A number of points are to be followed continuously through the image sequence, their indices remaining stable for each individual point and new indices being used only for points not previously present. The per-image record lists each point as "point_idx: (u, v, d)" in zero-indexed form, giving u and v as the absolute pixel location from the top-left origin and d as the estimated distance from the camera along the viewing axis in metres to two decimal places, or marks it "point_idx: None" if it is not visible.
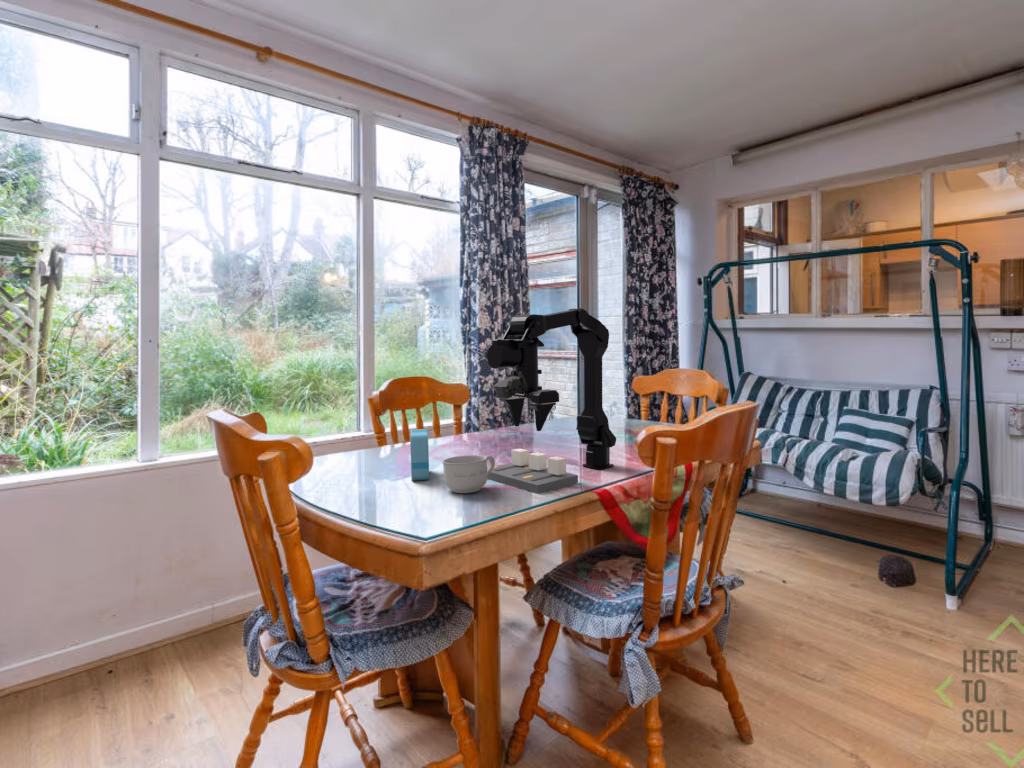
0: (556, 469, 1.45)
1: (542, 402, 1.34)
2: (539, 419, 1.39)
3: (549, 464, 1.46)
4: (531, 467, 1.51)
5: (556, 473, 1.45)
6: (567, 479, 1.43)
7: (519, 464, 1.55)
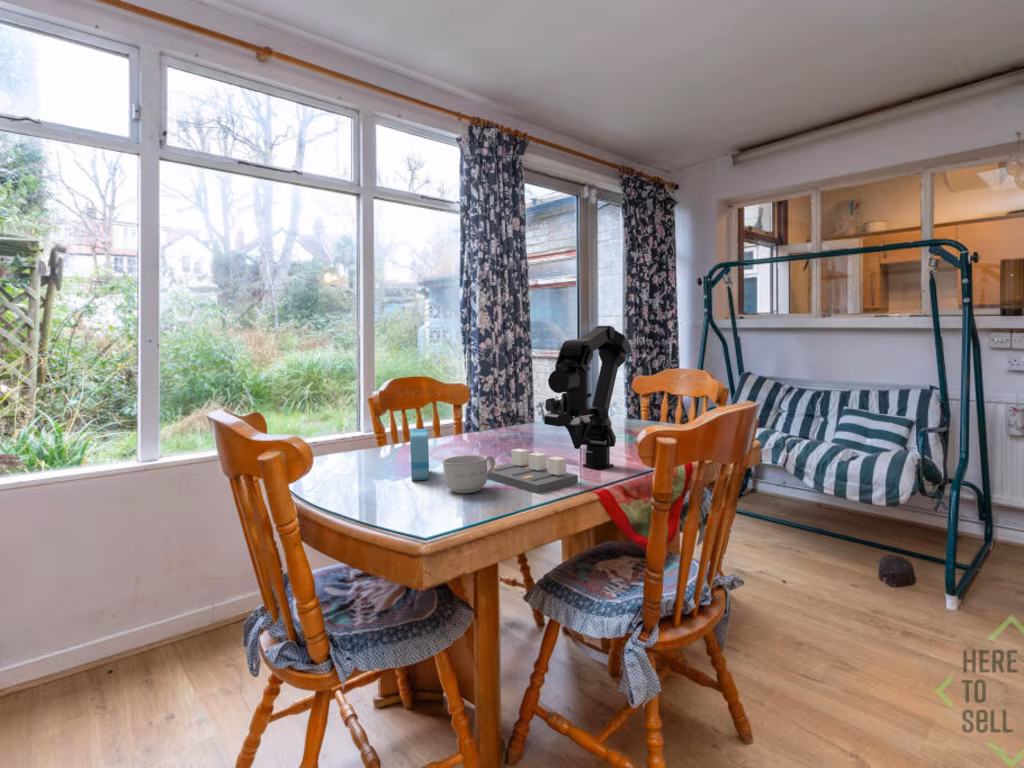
0: (556, 469, 1.45)
1: (544, 423, 1.46)
2: (572, 437, 1.50)
3: (549, 464, 1.46)
4: (531, 467, 1.51)
5: (556, 473, 1.45)
6: (567, 479, 1.43)
7: (519, 464, 1.55)
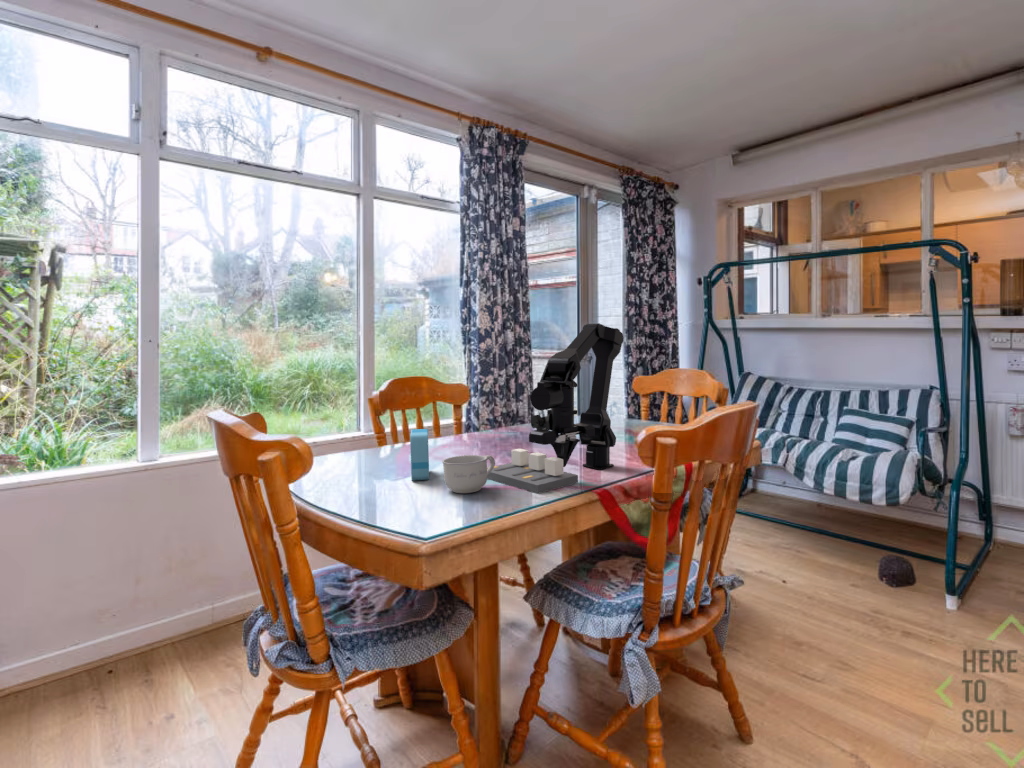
0: (553, 469, 1.44)
1: (529, 440, 1.43)
2: (557, 455, 1.47)
3: (546, 465, 1.46)
4: (531, 467, 1.51)
5: (553, 474, 1.44)
6: (567, 479, 1.43)
7: (519, 464, 1.55)
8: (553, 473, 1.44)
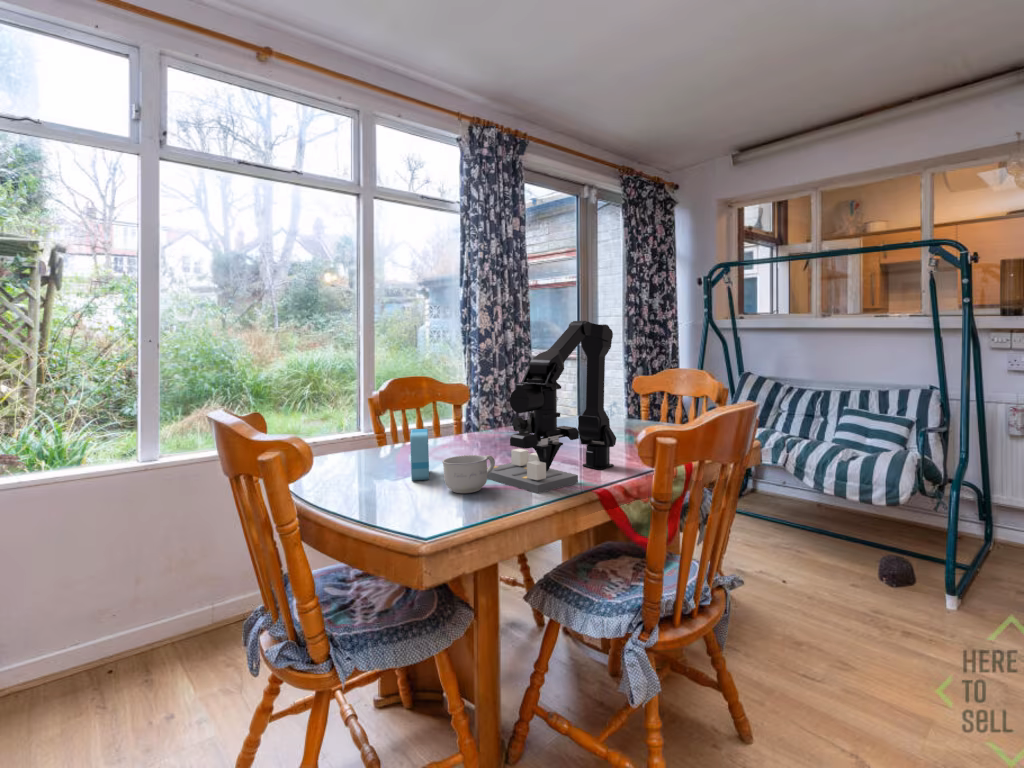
0: (535, 473, 1.40)
1: (510, 444, 1.39)
2: (540, 459, 1.43)
3: (528, 469, 1.42)
4: None
5: (535, 478, 1.40)
6: (567, 479, 1.43)
7: (519, 464, 1.55)
8: (535, 477, 1.40)
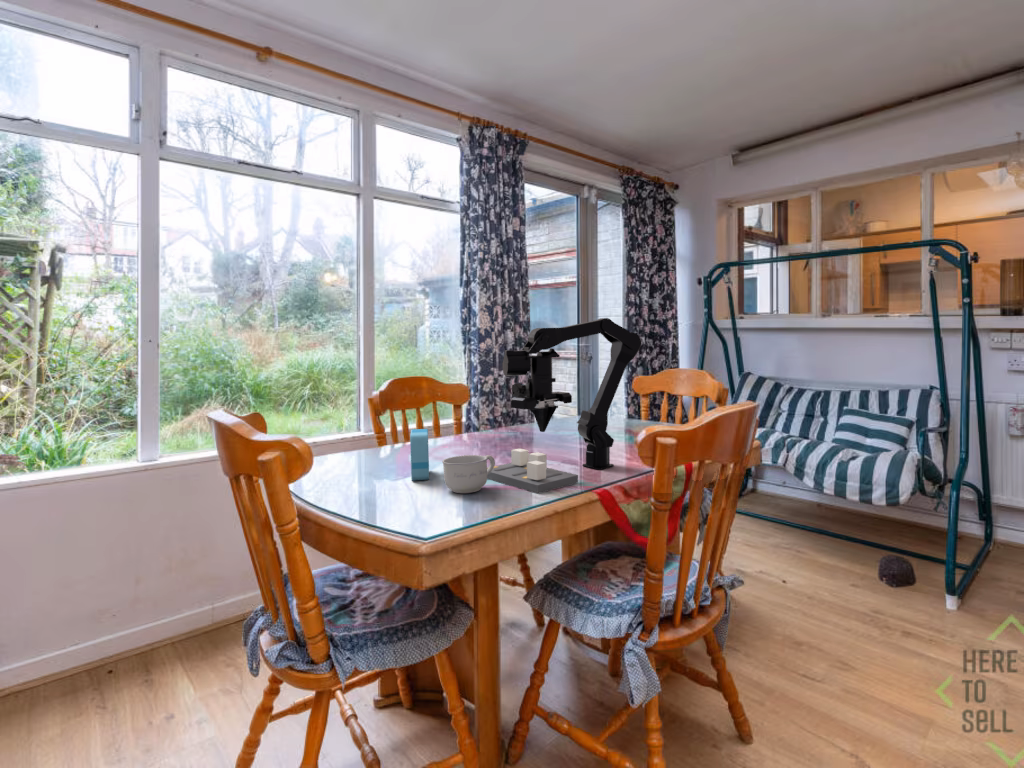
0: (535, 473, 1.40)
1: (511, 406, 1.52)
2: (537, 421, 1.57)
3: (528, 469, 1.42)
4: None
5: (535, 478, 1.40)
6: (567, 479, 1.43)
7: (519, 464, 1.55)
8: (535, 477, 1.40)
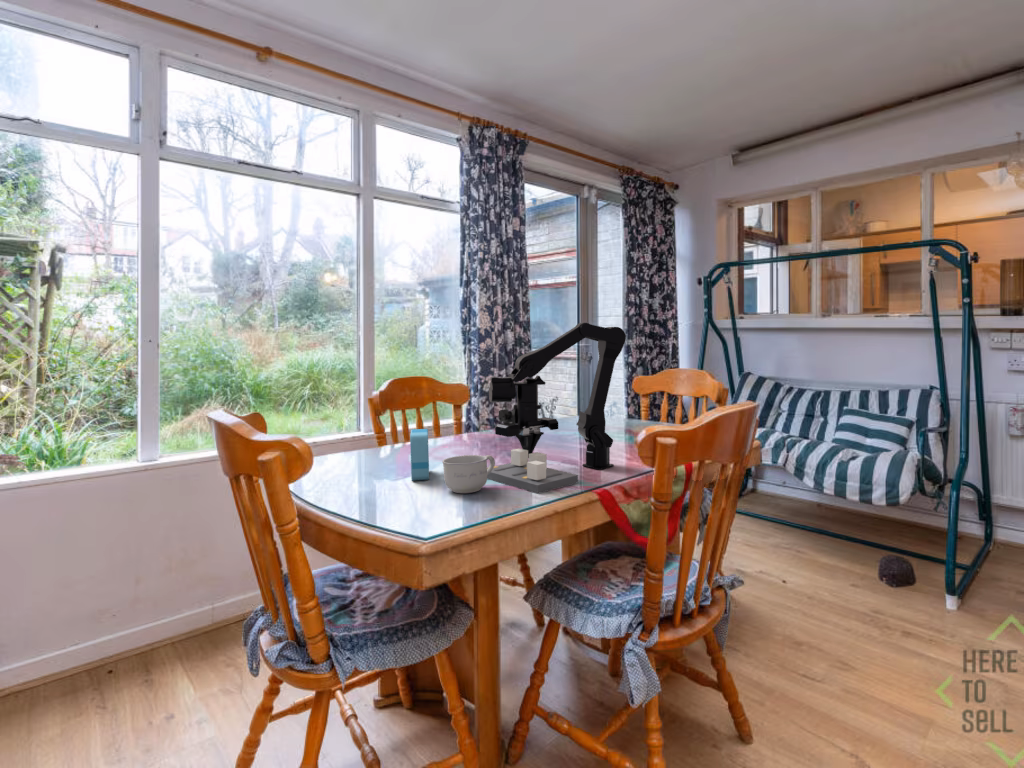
0: (535, 473, 1.40)
1: (495, 433, 1.54)
2: (523, 447, 1.58)
3: (528, 469, 1.42)
4: None
5: (535, 478, 1.40)
6: (567, 479, 1.43)
7: (519, 464, 1.55)
8: (535, 477, 1.40)
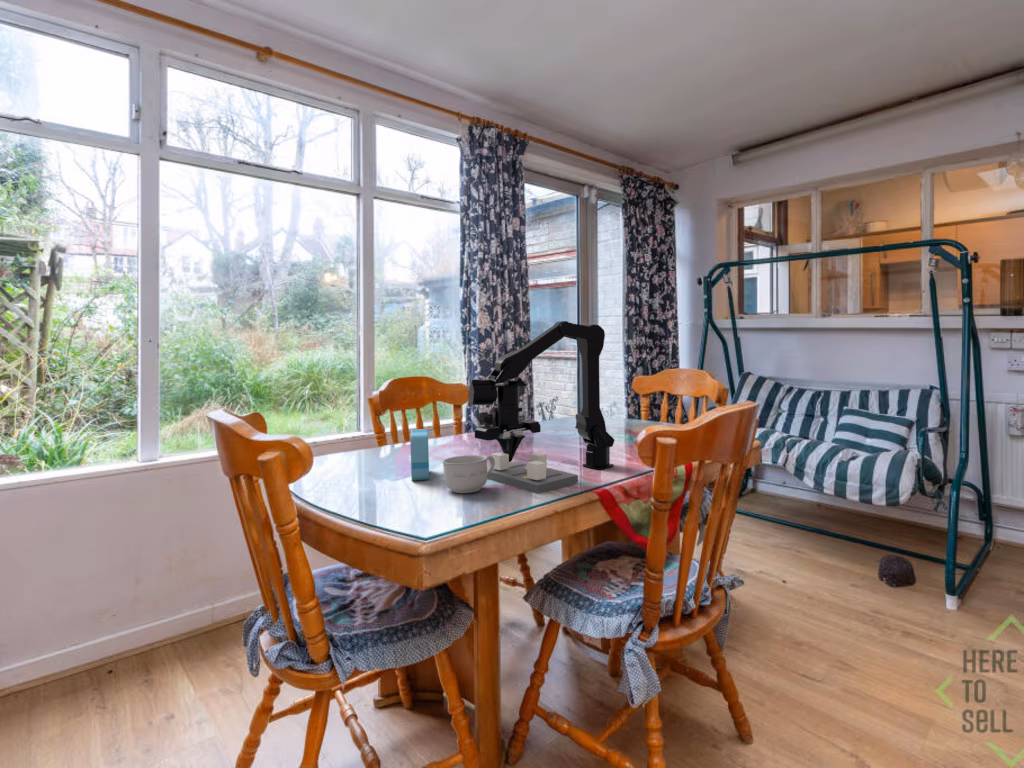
0: (535, 473, 1.40)
1: (475, 436, 1.50)
2: (503, 451, 1.54)
3: (528, 469, 1.42)
4: None
5: (535, 478, 1.40)
6: (567, 479, 1.43)
7: (499, 468, 1.50)
8: (535, 477, 1.40)
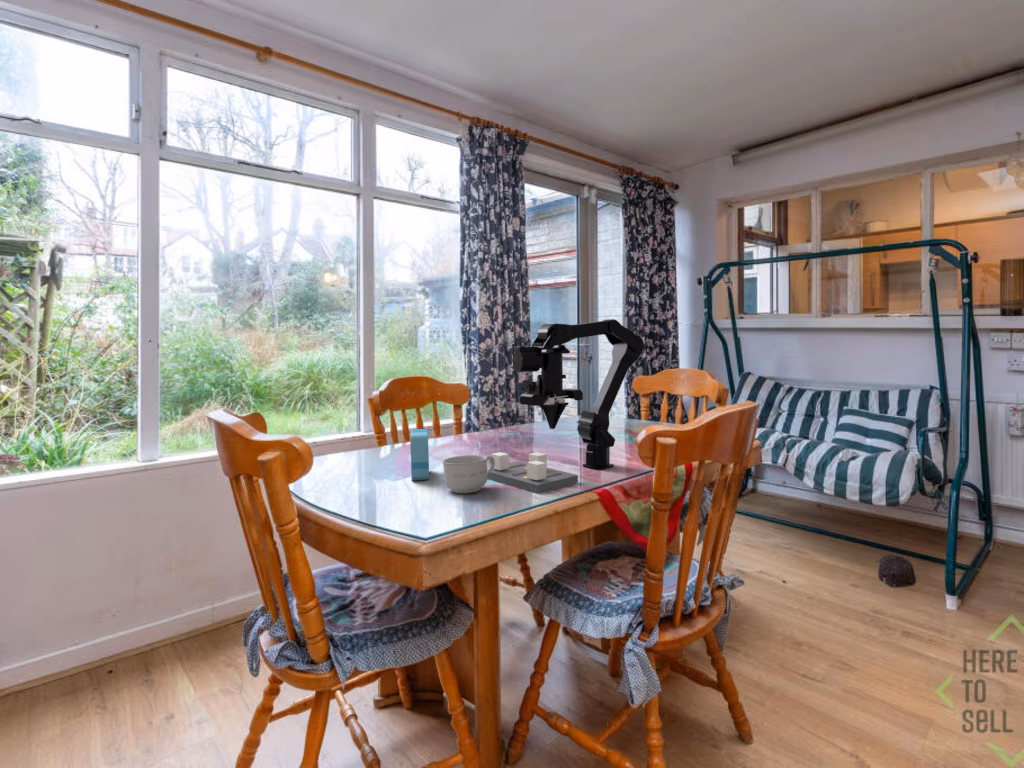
0: (535, 473, 1.40)
1: (520, 403, 1.51)
2: (547, 417, 1.55)
3: (528, 469, 1.42)
4: None
5: (535, 478, 1.40)
6: (567, 479, 1.43)
7: (499, 468, 1.50)
8: (535, 477, 1.40)
